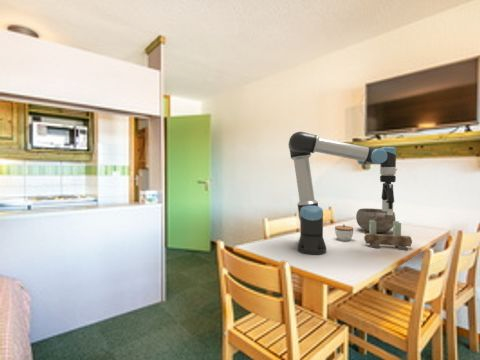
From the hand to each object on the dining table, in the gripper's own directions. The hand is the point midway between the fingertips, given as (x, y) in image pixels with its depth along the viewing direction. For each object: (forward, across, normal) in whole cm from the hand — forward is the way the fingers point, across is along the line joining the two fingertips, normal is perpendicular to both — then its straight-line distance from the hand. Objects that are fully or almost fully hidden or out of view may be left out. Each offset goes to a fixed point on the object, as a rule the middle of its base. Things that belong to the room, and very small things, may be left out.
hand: (387, 213), depth 148 cm
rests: (+19, 0, 0) cm, 19 cm away
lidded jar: (+19, +10, +22) cm, 31 cm away
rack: (+19, +13, -1) cm, 23 cm away
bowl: (+19, +39, 0) cm, 43 cm away
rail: (+17, 0, 0) cm, 17 cm away
